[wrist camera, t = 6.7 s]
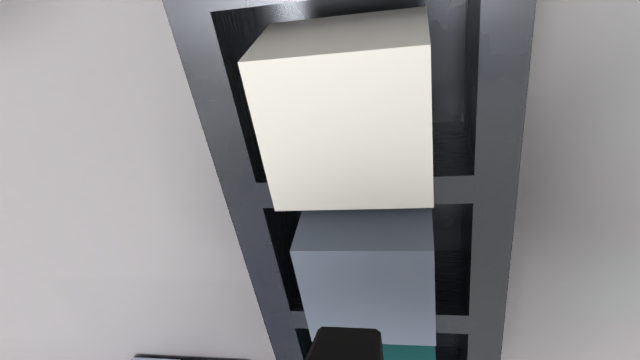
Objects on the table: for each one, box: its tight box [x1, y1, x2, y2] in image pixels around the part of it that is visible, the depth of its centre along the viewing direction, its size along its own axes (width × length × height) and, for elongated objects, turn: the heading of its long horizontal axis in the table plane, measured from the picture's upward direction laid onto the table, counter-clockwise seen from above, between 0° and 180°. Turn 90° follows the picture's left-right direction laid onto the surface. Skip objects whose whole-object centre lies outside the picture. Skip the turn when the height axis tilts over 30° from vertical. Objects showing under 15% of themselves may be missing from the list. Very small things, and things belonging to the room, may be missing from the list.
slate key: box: [290, 208, 436, 346], centre depth 16 cm, size 4×4×3 cm
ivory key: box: [238, 6, 434, 211], centre depth 12 cm, size 4×4×3 cm
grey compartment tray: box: [162, 0, 536, 360], centre depth 18 cm, size 20×9×4 cm, turn 8°
